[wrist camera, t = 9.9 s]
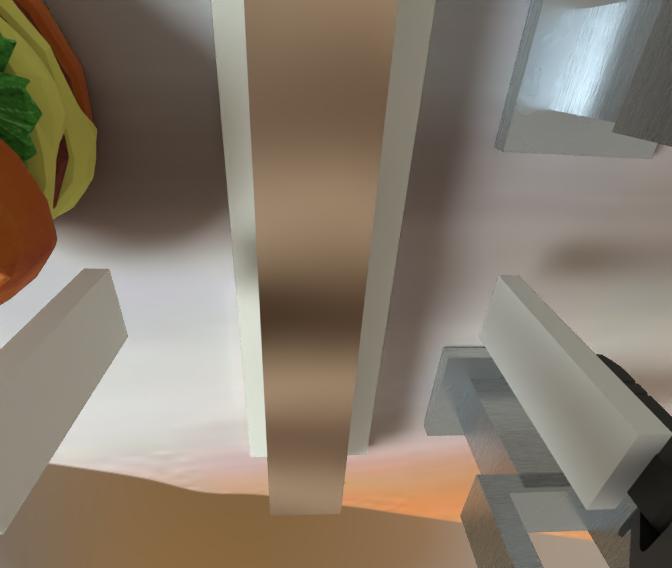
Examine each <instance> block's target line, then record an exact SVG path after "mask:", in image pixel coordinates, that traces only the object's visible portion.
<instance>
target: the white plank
mask: <svg viewBox="0 0 672 568" xmlns="http://www.w3.org/2000/svg"><path fill="white" fill-rule="evenodd" d="M435 3H436V0H398V8H397V17H396V26H395V35H394V44H393V53H392V62H391V70H390V79H389V88H388V97H387V106H386V115H385V124H384V133H383V141H382V150H381V159H380V168H379V177H378V186H377V195H376V204H375V212H374V221H373V230H372V239H371V248H370V257H369V266H368V274H367V283H366V292H365V301H364V310H363V319H362V328H361V337H360V345H359V354H358V363H357V372H356V381H355V390H354V399H353V408H352V416H351V425H350V434H349V443H348V452H347V455H367V449H368V442H369V436H370V429H371V423H372V416H373V410H374V403H375V396H376V390H377V383H378V377H379V370H380V364H381V357H382V351H383V344H384V337H385V331H386V324H387V318H388V311H389V305H390V298H391V292H392V285H393V279H394V272H395V265H396V259H397V252H398V246H399V239H400V233H401V226H402V220H403V213H404V207H405V200H406V193H407V187H408V180H409V174H410V167H411V161H412V154H413V148H414V141H415V134H416V128H417V121H418V115H419V108H420V102H421V95H422V89H423V82H424V76H425V69H426V62H427V56H428V49H429V43H430V36H431V30H432V23H433V17H434V10H435ZM211 7H212V18H213V30H214V42H215V53H216V65H217V76H218V88H219V100H220V111H221V123H222V134H223V146H224V158H225V169H226V181H227V192H228V204H229V216H230V227H231V239H232V250H233V262H234V274H235V285H236V297H237V308H238V320H239V332H240V343H241V355H242V366H243V378H244V390H245V401H246V413H247V424H248V436H249V448H250V457H267V442H266V422H265V403H264V383H263V364H262V344H261V325H260V305H259V286H258V266H257V247H256V227H255V208H254V188H253V169H252V149H251V130H250V110H249V91H248V72H247V52H246V33H245V13H244V0H211Z"/></svg>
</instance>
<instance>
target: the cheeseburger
mask: <svg viewBox="0 0 672 568" xmlns="http://www.w3.org/2000/svg"><path fill="white" fill-rule="evenodd" d="M96 139H97V129H96V127H95V126H94V121H93V115H92V110H91V105H90V100H89V95H88V89H87V84H86V79H85V74H84V69H83V67H82V66H81V64H80V62H79V61H78V59H77V57H76V56H75V54H74V52H73V51H72V49H71V47H70V46H69V44H68V42H67V40H66V39H65V37H64V35H63V34H62V32H61V30H60V29H59V27H58V25H57V24H56V22H55V20H54V19H53V17H52V15H51V14H50V12H49V10H48V9H47V7H46V5H45V4H44V3H43V2H42V1H41V0H0V305H1V304H3V303H4V302H6V301H8V300H9V299H11V298H12V297H13V296H14V295H16V294H17V293H18V292H19V291H20V290H22V289H23V288H24V287H25V286H26V285H28V284H29V283H30V282H31V281H32V280H34V279H35V278H36V277H37V276H38V274H39V272H40V271H41V269H42V268H43V266H44V265H45V263H46V261H47V260H48V258H49V256H50V255H51V253H52V251H53V250H54V248H55V246H56V242H57V236H56V230H55V226H54V223H53V221H54V218H56V217H58V216H60V215H61V214H63V213H65V212H67V211H69V210H70V209H72V208H74V206H75V205H76V204H77V202H78V201H79V200H80V198H81V197H82V195H83V194H84V193H85V191H86V189H87V188H88V186H89V184H90V183H91V181H92V179H93V177H94V171H95V164H96Z"/></svg>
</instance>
